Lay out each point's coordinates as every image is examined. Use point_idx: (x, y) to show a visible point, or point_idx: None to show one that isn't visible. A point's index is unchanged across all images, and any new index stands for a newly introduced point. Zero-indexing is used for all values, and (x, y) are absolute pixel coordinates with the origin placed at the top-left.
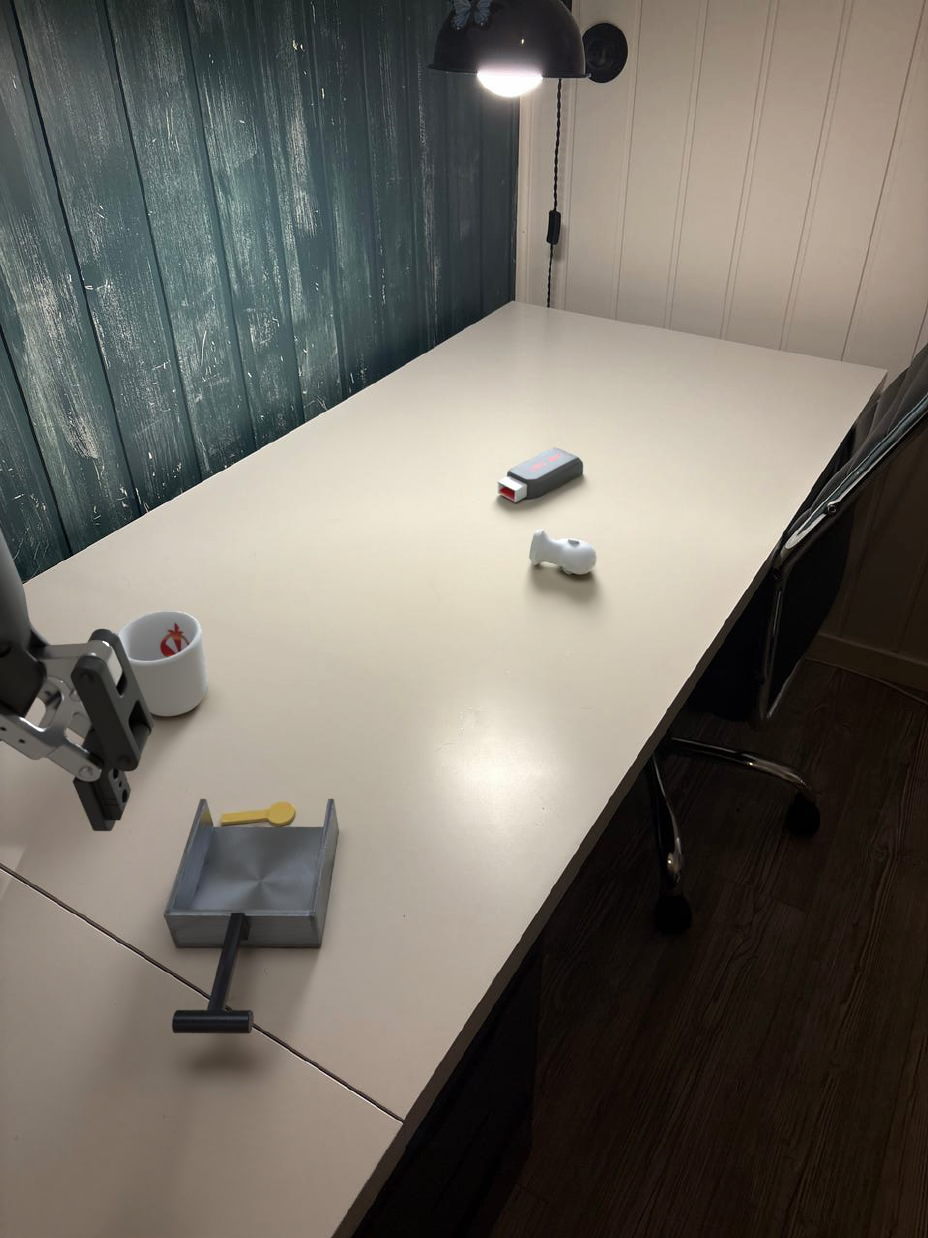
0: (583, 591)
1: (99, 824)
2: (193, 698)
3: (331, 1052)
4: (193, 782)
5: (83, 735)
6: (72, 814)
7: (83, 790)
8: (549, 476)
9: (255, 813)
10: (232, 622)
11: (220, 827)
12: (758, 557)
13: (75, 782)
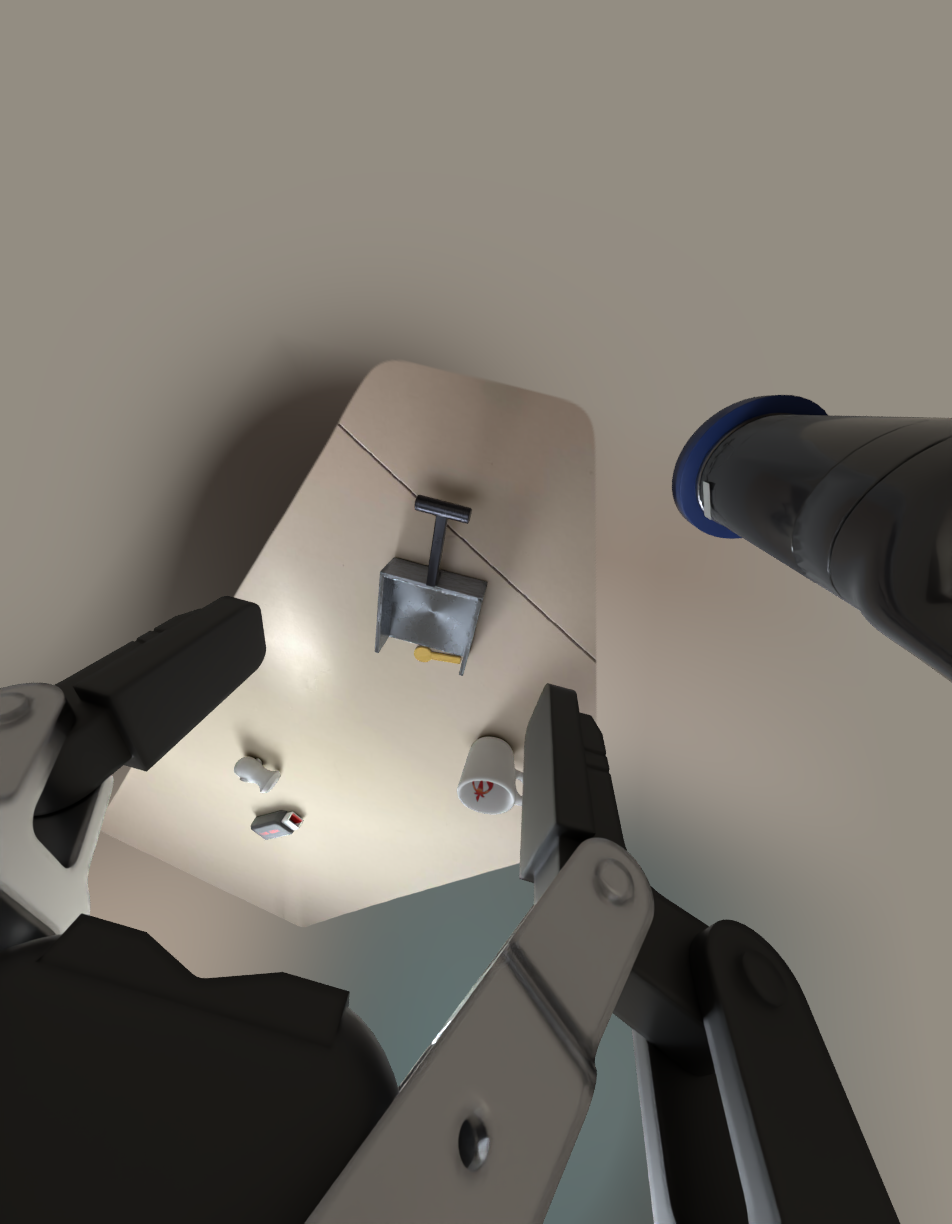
0: (249, 745)
1: (219, 607)
2: (476, 745)
3: (384, 482)
4: (479, 689)
5: (85, 806)
6: None
7: (128, 670)
8: (268, 822)
9: (438, 658)
10: None
11: (460, 655)
12: None
13: (103, 692)
